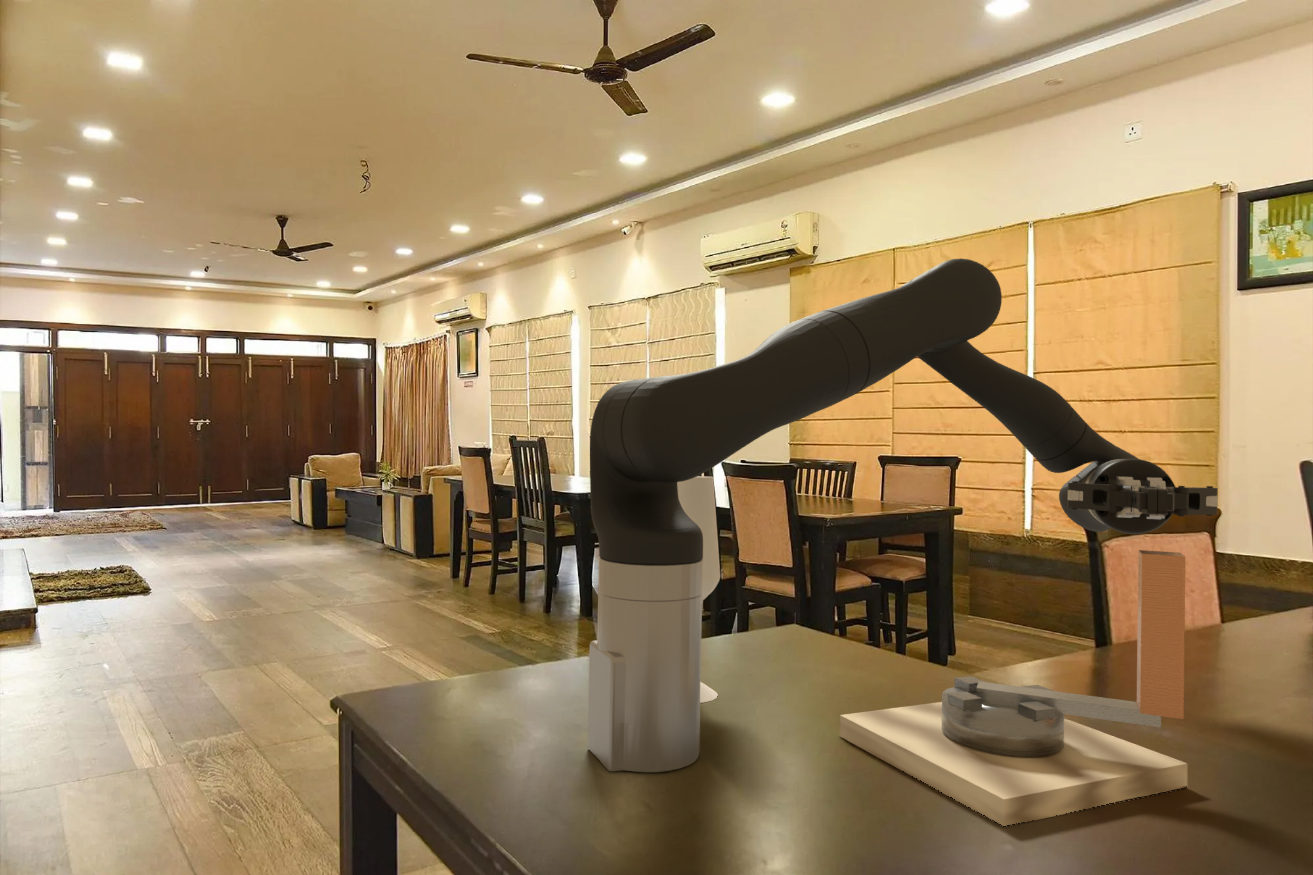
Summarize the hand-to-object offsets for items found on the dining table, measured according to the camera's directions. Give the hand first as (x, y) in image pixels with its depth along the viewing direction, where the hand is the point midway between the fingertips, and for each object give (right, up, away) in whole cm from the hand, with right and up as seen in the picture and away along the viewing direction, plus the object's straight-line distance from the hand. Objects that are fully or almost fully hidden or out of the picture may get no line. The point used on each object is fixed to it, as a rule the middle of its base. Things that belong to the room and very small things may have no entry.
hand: (1158, 501), depth 69 cm
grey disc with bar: (-8, -21, +2) cm, 23 cm away
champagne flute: (-39, -23, +21) cm, 50 cm away
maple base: (-12, -23, +3) cm, 26 cm away
